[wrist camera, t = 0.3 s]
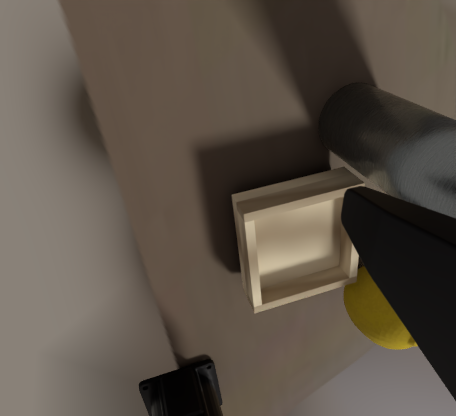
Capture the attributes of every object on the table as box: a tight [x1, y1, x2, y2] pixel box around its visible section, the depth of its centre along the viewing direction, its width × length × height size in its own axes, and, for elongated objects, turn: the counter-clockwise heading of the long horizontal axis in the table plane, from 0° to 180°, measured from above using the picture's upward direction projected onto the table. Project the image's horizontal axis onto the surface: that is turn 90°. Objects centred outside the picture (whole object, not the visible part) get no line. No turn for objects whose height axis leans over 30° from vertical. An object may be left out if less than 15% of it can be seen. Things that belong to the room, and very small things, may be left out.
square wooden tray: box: [232, 167, 365, 313], centre depth 28 cm, size 8×8×4 cm
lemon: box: [344, 266, 418, 349], centre depth 31 cm, size 6×6×8 cm
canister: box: [319, 83, 456, 218], centre depth 21 cm, size 5×5×13 cm
